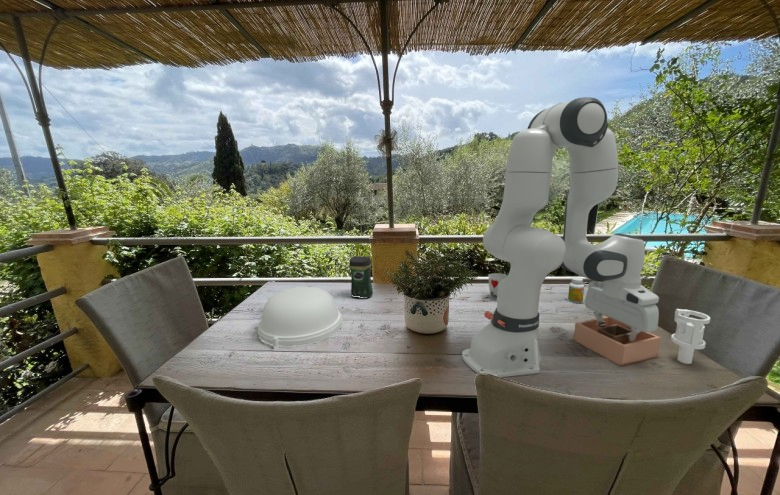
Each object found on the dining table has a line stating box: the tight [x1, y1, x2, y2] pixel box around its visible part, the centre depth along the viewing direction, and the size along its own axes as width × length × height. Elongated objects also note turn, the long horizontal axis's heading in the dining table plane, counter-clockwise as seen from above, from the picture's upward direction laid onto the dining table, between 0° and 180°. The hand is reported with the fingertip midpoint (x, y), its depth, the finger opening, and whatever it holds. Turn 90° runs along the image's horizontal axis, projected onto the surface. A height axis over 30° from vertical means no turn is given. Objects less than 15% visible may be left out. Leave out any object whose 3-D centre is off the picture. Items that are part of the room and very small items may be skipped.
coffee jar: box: [348, 255, 374, 298], centre depth 149 cm, size 10×8×19 cm
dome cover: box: [257, 286, 343, 346], centre depth 120 cm, size 32×30×14 cm
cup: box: [488, 272, 508, 301], centre depth 142 cm, size 8×8×10 cm
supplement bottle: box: [567, 276, 585, 304], centre depth 136 cm, size 5×5×10 cm
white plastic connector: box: [670, 308, 711, 365], centre depth 91 cm, size 7×7×15 cm
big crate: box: [573, 315, 662, 367], centre depth 100 cm, size 14×16×6 cm
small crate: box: [597, 324, 635, 345], centre depth 100 cm, size 8×6×5 cm
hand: (614, 332), depth 99 cm, fingers open, 8 cm apart
